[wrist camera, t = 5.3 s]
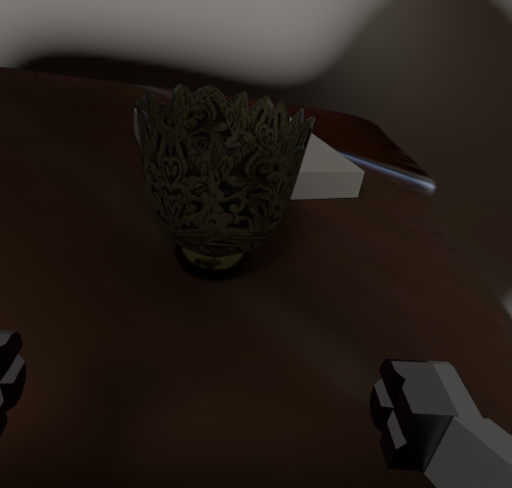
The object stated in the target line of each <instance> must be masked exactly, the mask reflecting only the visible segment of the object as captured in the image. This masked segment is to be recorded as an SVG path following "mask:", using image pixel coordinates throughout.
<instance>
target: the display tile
mask: <svg viewBox="0 0 512 488" xmlns="http://www.w3.org/2000/svg"><path fill="white" fill-rule="evenodd" d="M291 120H292V119H291V118H290V121H291ZM134 133H135V136H136V138H137V140H138V143H139V145H140V137H139V127H138V118H137V111H136V109H134ZM363 176H364V171H363V170H362V169H360V168H359V167H357V166H356V165H355V164H353V163H352V162H351V161H349V160H348V159H346V158H345V157H344V156H342V155H341V154H340V153H338V152H337V151H335V150H334V149H333V148H331V147H330V146H328V145H327V144H326V143H324V142H323V141H322V140H320V139H319V138H317V137H316V136H315V135H313V134H311V137H310V139H309V142H308V145H307V148H306V152H305V155H304V158H303V161H302V165H301V168H300V171H299V174H298V177H297V181H296V184H295V187H294V190H293V193H292V196H291V199H290V200H296V199H326V198H355V197H358V194H359V191H360V187H361V183H362V179H363Z"/></svg>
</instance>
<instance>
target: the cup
mask: <svg viewBox="0 0 512 488" xmlns="http://www.w3.org/2000/svg"><path fill="white" fill-rule="evenodd" d="M226 100H227V99H226ZM226 100H225V99H224V95H223V94H222V93H221V92H220V91H219V90H218V89H217V88H216V87H214V86H213V85H207V86H205V87H203V88H201V89H199V90H197V91H196V92H195V93H193V94H190V92H189V90H188V89H187V88H186V87H185V86H184V85H182V84H178V85H177V86H176V87H175V88H174V89H173V94H172V99H171V102H172V103H171V102H170V103H171V105H170V106H167V105H166V104H163V103H164V102H162V103H161V104H160V107H158V106H157V103H156V100H155V97H154V95H153V94H152V93H150V92H149V91H148V90H147V91H146V92H145V94H144V98H143V100H142V99H140V98H137V97H135V103H136V111H137V118H138V127H139V137H140V147H141V156H142V165H143V173H144V181H145V188H146V194H147V199H148V203H149V207H150V210H151V213H152V215H153V217H154V220H155V222H156V223H157V225H158V226H159V228H160V229H161V231H162V232H163V233H164V234H165V235H166V236H167V237H168V238H169V239H170V240H172V241H173V242H175V243H176V245H175V254H176V257H177V259H178V261H179V263H180V265H181V266H182V267H183V268H184V269H185V270H186V271H187V272H189V273H190V274H192V275H195V276H197V277H201V278H205V279H225V278H229V277H232V276H234V275H236V274H238V273H239V272H240V271H241V270H242V269H243V268H244V266H245V265H246V263H247V262H248V260H249V256H250V252H249V251H250V250H252V249H254V248H256V247H258V246H260V245H261V244H263V243H264V242H265V241H266V240H267V239H268V238H269V237H270V236H271V235H272V234H273V233H274V232H275V230H276V229H277V228H278V226H279V224H280V222H281V220H282V219H283V217H284V214H285V212H286V209H287V207H288V204H289V201H290V199H291V196H292V193H293V190H294V187H295V184H296V181H297V177H298V174H299V171H300V168H301V165H302V161H303V158H304V155H305V152H306V148H307V145H308V142H309V139H310V137H311V134H312V131H313V125H314V121H315V116H313V117H309V118H308V119H306V120H305V121H304V122H303V120H304V110H303V108H301V109H300V111H299V112H298V114H296V115H295V116H293V118H292V120H291V121H290V115H289V114H288V111H287V107H286V104H285V102H284V101H280V102H279V103H278V105H277V107H276V108H274V107H273V104H272V102H271V100H270V97H268V96H264V97H263V98H261V99H260V100H259V101H258V102H257V103H256V104H255V105H254V106H253V107H252V110H251V112H249V108H248V105H247V94H246V92H241V93H239V94H237V95H235V96H234V97H233V99H232V100H234V102H233V103H232V104H230V103H231V102H232V101H228V100H227V101H228V102H230V103H228V102H227V101H226ZM249 107H250V106H249Z"/></svg>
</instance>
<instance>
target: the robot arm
mask: <svg viewBox="0 0 512 488" xmlns="http://www.w3.org/2000/svg"><path fill="white" fill-rule="evenodd" d="M22 346H23V345H22V340H21V335H20V333H18V332H16V331H6V330H0V436H1V434H2V432H3V430H4V429H5V427H6V425H7V423H8V421H7V416H6V412H7V411H8V410H9V409H11V408H12V407H14V406H15V405H17V403H18V401H19V399H20V397H21V394H22V392H23V388H24V384H25V380H26V365H25V360H24V359H23V358H21V357H20V356H19V355H18V353H19V351H20V349H21V347H22ZM379 372H380V374H381V377H382V379H381V380H379V381H378V382H376V383H375V384H374V386H373V389H372V392H371V397H370V410H371V417H372V420H373V423H374V426H375V427H376V428H377V429H378V430H380V431H381V432H382V433H383V434H382V437H381V439H380V442H379V443H380V446H381V449H382V452H383V455H384V459H385V462H386V465H387V468H388V469H396V470H409V471H422V472H425V473H424V474H425V475H426V476H427V477H428V478H429V480H430V481H431V482H432V483H433V484H434V485H435V487H436V488H512V436H511V435H510V434H508V433H507V432H506V431H504V430H503V429H502V428H500V427H499V426H498V425H496V424H495V423H494V422H493V421H491V420H490V419H483V418H482V416H481V414H480V412H479V411H478V409H477V407H476V405H475V404H474V402H473V400H472V398H471V397H470V395H469V393H468V391H467V390H466V388H465V386H464V384H463V383H462V381H461V379H460V377H459V375H458V374H457V372H456V370H455V368H454V367H453V365H451V364H450V363H449V362H438V361H418V360H403V359H387V358H386V359H385V360H384V361H383V362H382V364H381V367H380V369H379Z"/></svg>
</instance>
